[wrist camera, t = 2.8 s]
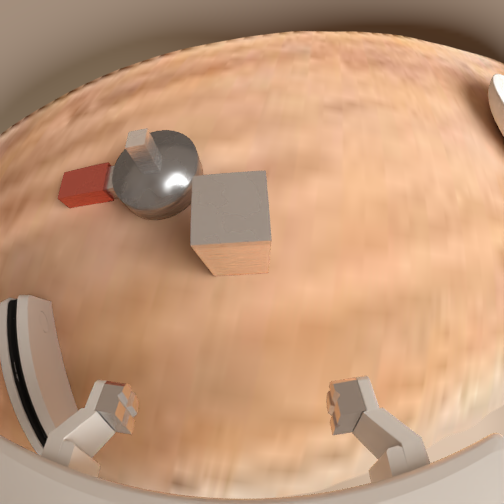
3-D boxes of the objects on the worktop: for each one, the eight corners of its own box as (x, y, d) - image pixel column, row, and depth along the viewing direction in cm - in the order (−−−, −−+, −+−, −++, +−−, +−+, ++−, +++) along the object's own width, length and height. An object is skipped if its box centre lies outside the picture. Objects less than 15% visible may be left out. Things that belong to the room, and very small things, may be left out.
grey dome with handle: (65, 230, 27) (25, 203, 20) (79, 164, 30) (49, 130, 23) (202, 215, 27) (183, 175, 20) (204, 142, 30) (191, 94, 23)
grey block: (214, 276, 25) (190, 245, 17) (213, 225, 27) (192, 176, 18) (268, 273, 25) (271, 240, 17) (264, 222, 27) (265, 170, 18)
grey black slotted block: (24, 309, 25) (-19, 286, 16) (55, 302, 27) (19, 276, 18) (61, 447, 20) (27, 472, 12) (95, 443, 22) (70, 471, 13)
